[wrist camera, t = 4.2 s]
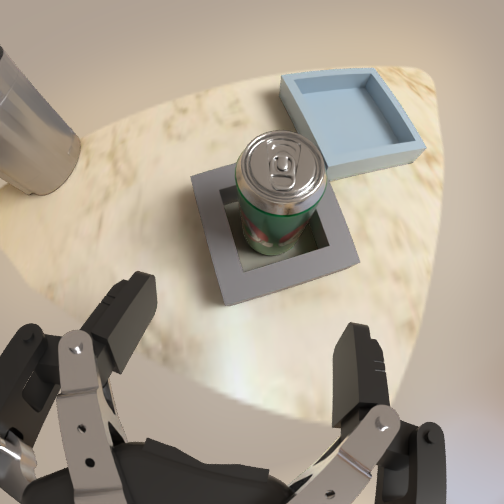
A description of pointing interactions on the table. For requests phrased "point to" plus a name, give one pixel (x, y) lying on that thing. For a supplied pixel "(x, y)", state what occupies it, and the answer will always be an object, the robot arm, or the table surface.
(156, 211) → the table surface
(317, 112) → the parts tray
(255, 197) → the soda can
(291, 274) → the socket block
